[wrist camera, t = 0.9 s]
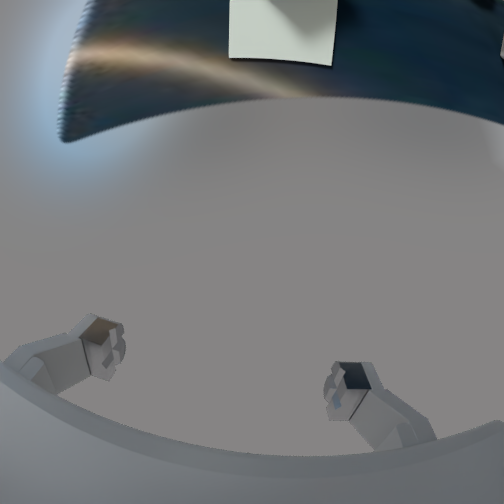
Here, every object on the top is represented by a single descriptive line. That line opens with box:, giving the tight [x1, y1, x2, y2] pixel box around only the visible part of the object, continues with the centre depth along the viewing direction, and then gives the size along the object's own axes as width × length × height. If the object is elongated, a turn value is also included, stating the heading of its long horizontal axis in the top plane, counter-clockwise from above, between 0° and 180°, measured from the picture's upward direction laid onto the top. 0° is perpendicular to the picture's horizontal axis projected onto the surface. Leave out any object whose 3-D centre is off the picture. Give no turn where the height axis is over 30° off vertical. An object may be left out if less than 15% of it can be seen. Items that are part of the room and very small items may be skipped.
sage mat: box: [229, 0, 338, 66], centre depth 20 cm, size 8×11×1 cm
